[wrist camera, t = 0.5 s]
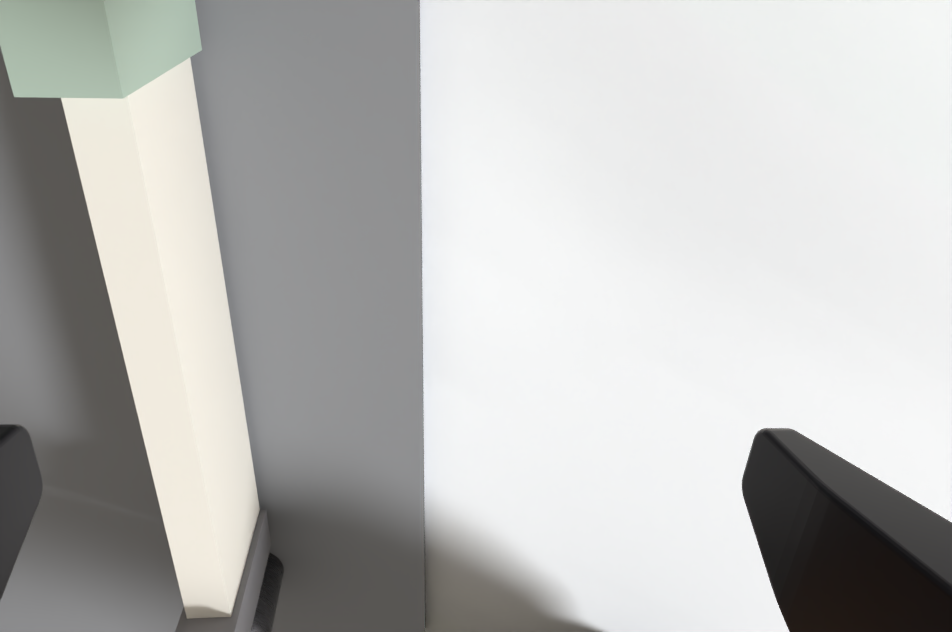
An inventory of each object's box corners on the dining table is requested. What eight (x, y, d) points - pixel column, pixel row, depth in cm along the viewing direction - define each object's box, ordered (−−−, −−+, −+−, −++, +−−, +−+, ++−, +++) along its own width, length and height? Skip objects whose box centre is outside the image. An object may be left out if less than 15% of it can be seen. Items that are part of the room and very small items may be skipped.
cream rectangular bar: (274, 544, 25) (241, 685, 20) (220, 546, 25) (175, 688, 20) (190, -25, 16) (103, -3, 12) (108, -28, 16) (-14, -5, 12)
